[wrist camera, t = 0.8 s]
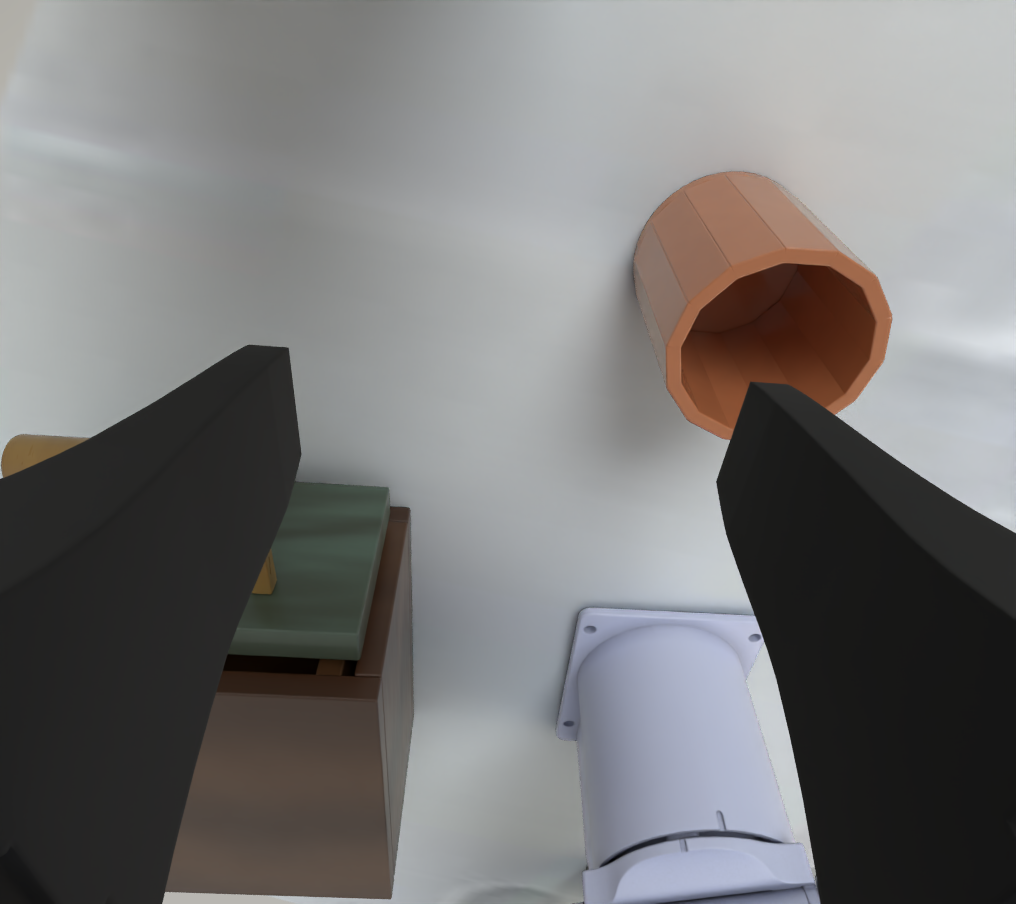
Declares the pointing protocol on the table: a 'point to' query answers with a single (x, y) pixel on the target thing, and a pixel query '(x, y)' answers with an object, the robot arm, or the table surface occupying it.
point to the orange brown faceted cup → (754, 300)
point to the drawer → (292, 573)
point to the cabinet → (309, 766)
